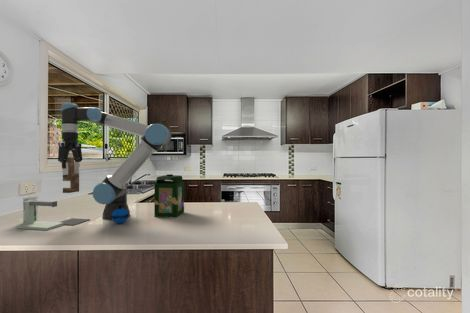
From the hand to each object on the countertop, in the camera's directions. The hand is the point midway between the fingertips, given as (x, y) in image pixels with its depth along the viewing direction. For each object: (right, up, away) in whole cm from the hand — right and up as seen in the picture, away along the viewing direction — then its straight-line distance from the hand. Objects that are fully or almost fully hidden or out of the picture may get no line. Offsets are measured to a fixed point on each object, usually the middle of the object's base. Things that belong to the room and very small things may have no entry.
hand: (71, 174), depth 144 cm
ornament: (+27, -27, -1) cm, 38 cm away
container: (+49, -27, +21) cm, 59 cm away
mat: (0, -27, +1) cm, 27 cm away
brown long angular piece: (0, -10, 0) cm, 10 cm away
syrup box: (-22, -27, 0) cm, 35 cm away
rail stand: (-11, -27, -8) cm, 30 cm away
